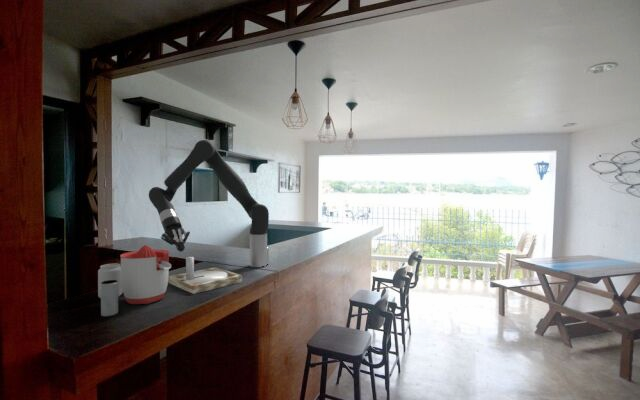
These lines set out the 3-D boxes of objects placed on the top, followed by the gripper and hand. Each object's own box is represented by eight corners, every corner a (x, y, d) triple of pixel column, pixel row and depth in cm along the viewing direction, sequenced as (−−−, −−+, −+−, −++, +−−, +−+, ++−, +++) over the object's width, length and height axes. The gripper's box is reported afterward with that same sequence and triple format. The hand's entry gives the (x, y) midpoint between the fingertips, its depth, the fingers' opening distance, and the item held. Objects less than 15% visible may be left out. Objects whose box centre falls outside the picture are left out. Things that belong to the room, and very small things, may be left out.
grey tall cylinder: (115, 309, 101) (115, 278, 101) (120, 313, 98) (120, 281, 98) (99, 314, 98) (98, 281, 98) (103, 317, 95) (103, 284, 95)
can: (113, 300, 111) (113, 267, 110) (93, 300, 111) (92, 266, 110) (127, 293, 118) (126, 262, 118) (107, 293, 118) (107, 262, 118)
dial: (214, 271, 146) (214, 249, 146) (235, 278, 134) (235, 254, 134) (175, 279, 132) (175, 255, 132) (195, 287, 120) (195, 261, 120)
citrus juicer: (152, 309, 102) (152, 249, 101) (108, 305, 105) (108, 247, 105) (182, 294, 117) (182, 242, 117) (143, 291, 120) (143, 240, 120)
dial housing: (215, 273, 149) (215, 266, 149) (242, 282, 134) (242, 274, 134) (168, 283, 132) (168, 275, 132) (192, 294, 117) (192, 286, 117)
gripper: (157, 216, 136) (168, 246, 128) (186, 215, 146) (199, 243, 138) (152, 227, 139) (163, 257, 131) (181, 225, 149) (193, 253, 141)
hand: (181, 250), depth 135 cm, fingers closed
